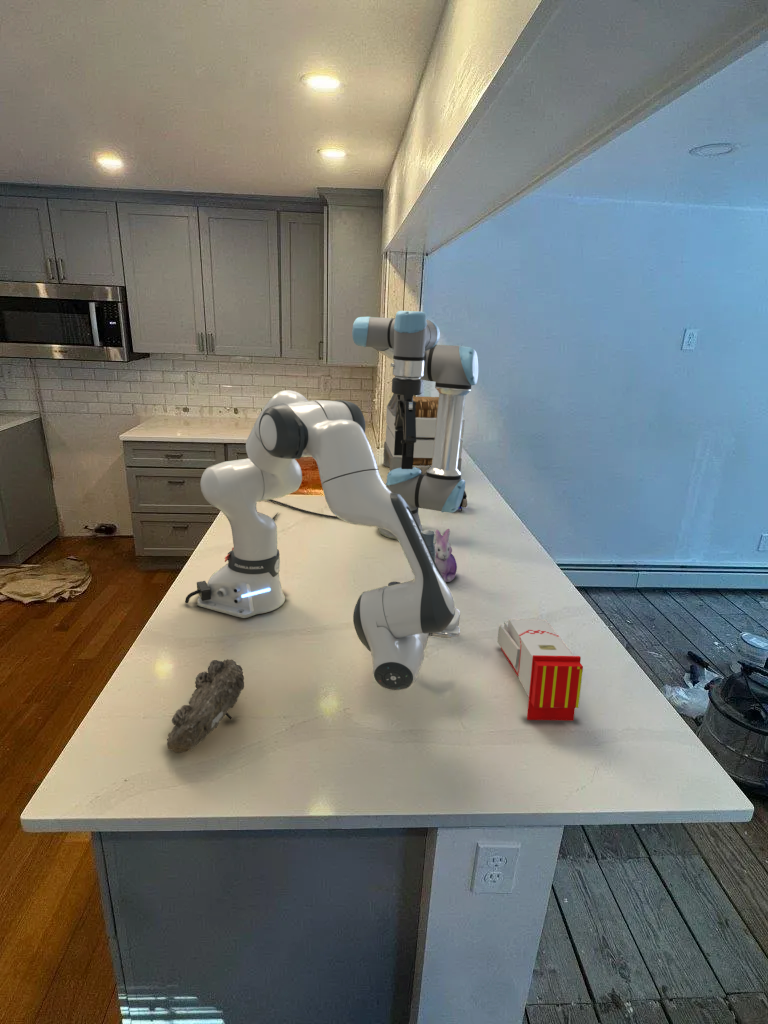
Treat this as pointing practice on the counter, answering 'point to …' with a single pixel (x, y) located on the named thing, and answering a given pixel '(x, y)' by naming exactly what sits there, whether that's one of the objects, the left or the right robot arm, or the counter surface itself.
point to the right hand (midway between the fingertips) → (402, 461)
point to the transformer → (424, 433)
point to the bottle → (430, 541)
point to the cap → (393, 583)
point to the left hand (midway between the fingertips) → (416, 598)
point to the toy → (542, 668)
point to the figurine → (445, 556)
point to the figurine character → (463, 501)
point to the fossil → (206, 705)
